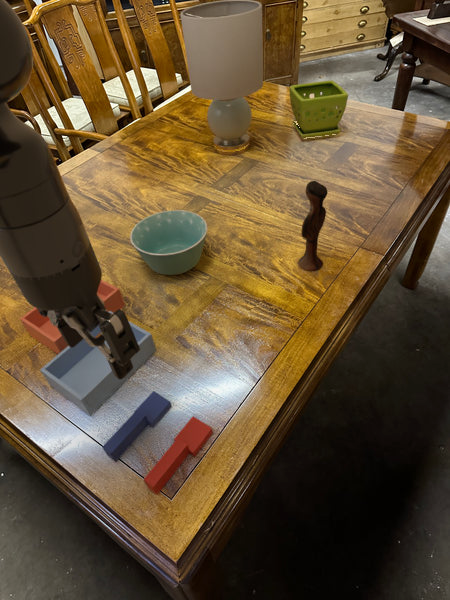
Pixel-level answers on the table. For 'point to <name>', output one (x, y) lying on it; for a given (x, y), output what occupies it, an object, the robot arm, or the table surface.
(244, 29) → the lamp
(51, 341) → the red bin
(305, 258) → the figurine
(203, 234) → the bowl
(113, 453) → the blue bar
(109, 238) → the table surface
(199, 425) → the red stepped block
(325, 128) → the flower pot
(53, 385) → the blue bin
